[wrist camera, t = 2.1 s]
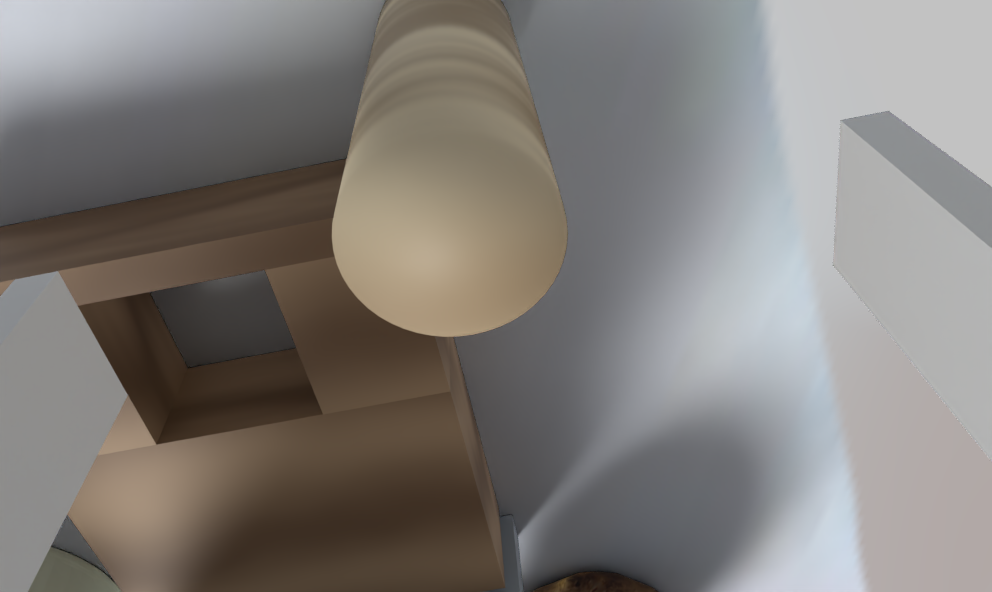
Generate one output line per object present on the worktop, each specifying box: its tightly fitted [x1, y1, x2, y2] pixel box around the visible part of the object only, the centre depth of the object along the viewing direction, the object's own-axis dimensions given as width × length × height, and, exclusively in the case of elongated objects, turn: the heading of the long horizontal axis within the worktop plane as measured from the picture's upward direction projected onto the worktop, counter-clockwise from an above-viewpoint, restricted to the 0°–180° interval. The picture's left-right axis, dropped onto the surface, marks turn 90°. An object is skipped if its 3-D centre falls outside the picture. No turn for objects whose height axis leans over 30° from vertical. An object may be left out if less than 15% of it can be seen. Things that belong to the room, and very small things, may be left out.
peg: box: [332, 0, 568, 337], centre depth 19 cm, size 4×4×12 cm
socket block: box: [0, 159, 505, 592], centre depth 29 cm, size 17×14×4 cm
